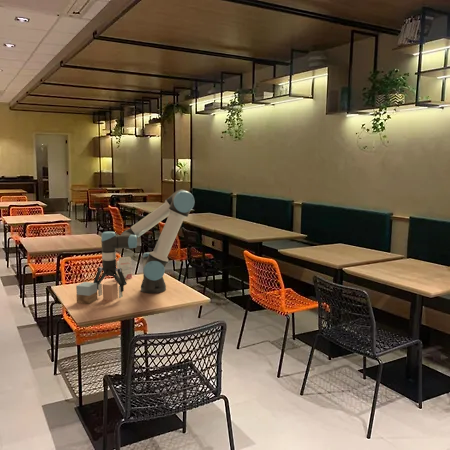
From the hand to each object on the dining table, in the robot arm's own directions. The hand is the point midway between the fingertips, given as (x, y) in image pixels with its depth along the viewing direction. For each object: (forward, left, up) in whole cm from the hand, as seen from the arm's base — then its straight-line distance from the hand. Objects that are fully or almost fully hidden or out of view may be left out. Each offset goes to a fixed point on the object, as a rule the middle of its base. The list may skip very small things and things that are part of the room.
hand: (110, 296), depth 254 cm
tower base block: (+10, +8, -2) cm, 13 cm away
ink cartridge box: (+14, -43, -2) cm, 45 cm away
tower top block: (+10, +8, +3) cm, 13 cm away
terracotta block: (0, 0, -2) cm, 2 cm away
